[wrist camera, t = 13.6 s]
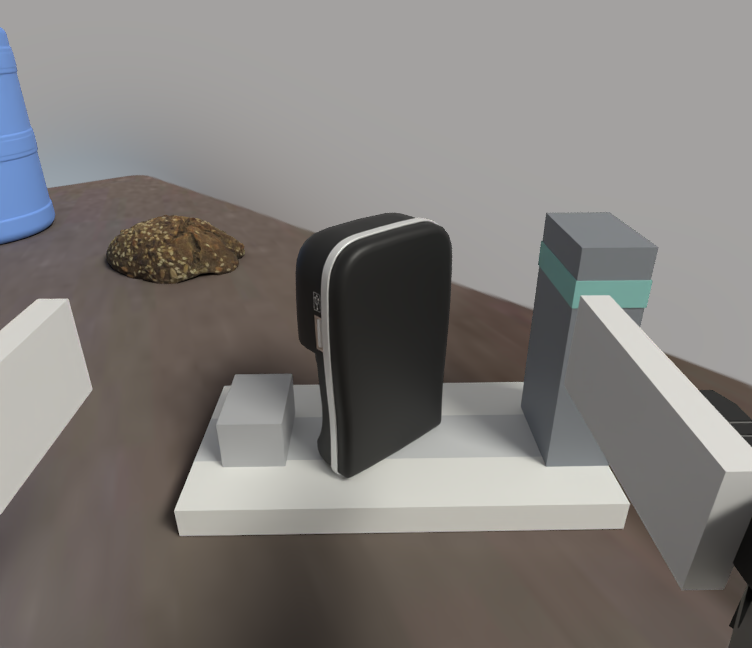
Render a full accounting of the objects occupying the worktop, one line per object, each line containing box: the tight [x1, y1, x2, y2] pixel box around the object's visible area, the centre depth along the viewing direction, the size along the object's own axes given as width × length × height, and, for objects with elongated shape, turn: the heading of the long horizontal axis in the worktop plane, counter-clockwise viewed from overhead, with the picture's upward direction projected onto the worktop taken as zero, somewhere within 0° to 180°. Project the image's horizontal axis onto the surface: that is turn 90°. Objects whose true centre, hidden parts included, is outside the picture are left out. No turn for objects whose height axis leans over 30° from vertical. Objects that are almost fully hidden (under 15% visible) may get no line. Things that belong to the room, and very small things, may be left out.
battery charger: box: [296, 213, 452, 478], centre depth 27 cm, size 7×4×11 cm, turn 132°
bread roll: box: [106, 215, 245, 284], centre depth 56 cm, size 13×12×5 cm
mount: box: [174, 212, 658, 536], centre depth 27 cm, size 10×20×12 cm, turn 91°
